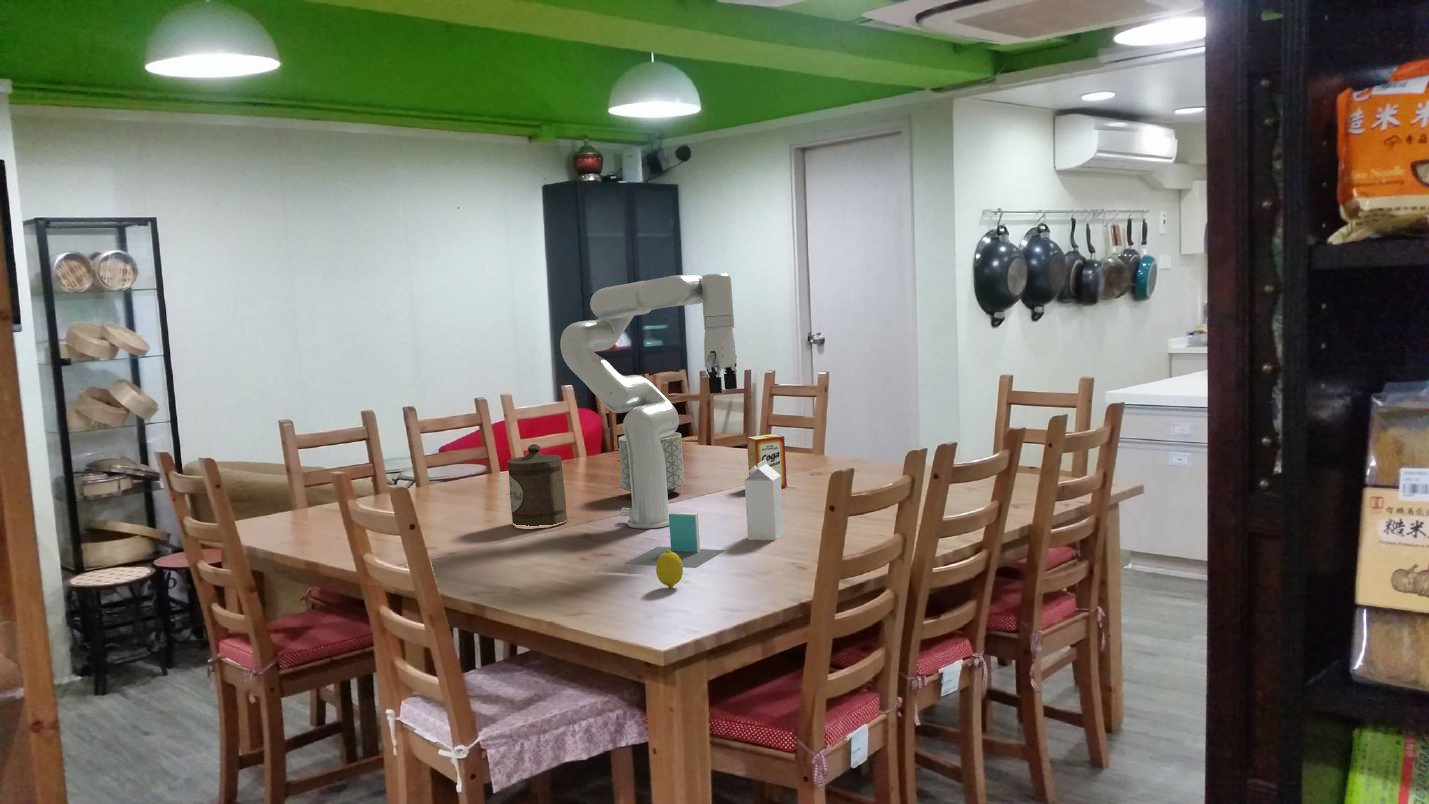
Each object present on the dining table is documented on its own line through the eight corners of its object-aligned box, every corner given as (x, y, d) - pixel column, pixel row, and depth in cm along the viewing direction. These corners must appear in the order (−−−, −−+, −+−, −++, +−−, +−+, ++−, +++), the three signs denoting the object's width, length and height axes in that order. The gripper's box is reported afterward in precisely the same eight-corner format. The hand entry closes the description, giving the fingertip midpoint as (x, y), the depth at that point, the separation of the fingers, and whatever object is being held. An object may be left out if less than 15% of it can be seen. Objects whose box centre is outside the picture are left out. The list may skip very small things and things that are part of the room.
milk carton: (784, 535, 268) (779, 459, 266) (776, 542, 261) (771, 463, 259) (756, 535, 270) (752, 459, 268) (747, 541, 264) (743, 464, 262)
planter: (683, 499, 322) (679, 438, 320) (619, 503, 323) (615, 442, 321) (686, 487, 341) (682, 430, 339) (625, 491, 342) (621, 433, 340)
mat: (624, 566, 247) (624, 563, 247) (657, 549, 262) (657, 546, 262) (695, 570, 240) (695, 567, 240) (725, 552, 254) (725, 550, 254)
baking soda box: (758, 491, 329) (755, 438, 327) (749, 487, 335) (746, 436, 333) (786, 487, 332) (784, 435, 330) (777, 484, 338) (775, 433, 336)
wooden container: (514, 520, 306) (508, 443, 304) (567, 516, 308) (562, 439, 306) (510, 532, 292) (504, 450, 289) (566, 527, 293) (560, 446, 291)
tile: (670, 551, 256) (667, 513, 255) (673, 549, 257) (671, 512, 256) (697, 553, 253) (694, 514, 252) (700, 551, 254) (697, 513, 253)
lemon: (657, 585, 229) (654, 548, 228) (683, 583, 230) (680, 546, 229) (657, 592, 224) (655, 554, 223) (684, 590, 224) (682, 552, 223)
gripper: (718, 322, 283) (723, 388, 284) (691, 325, 267) (695, 395, 269) (745, 320, 280) (749, 387, 281) (719, 324, 264) (724, 394, 266)
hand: (723, 391), depth 275 cm, fingers open, 9 cm apart
